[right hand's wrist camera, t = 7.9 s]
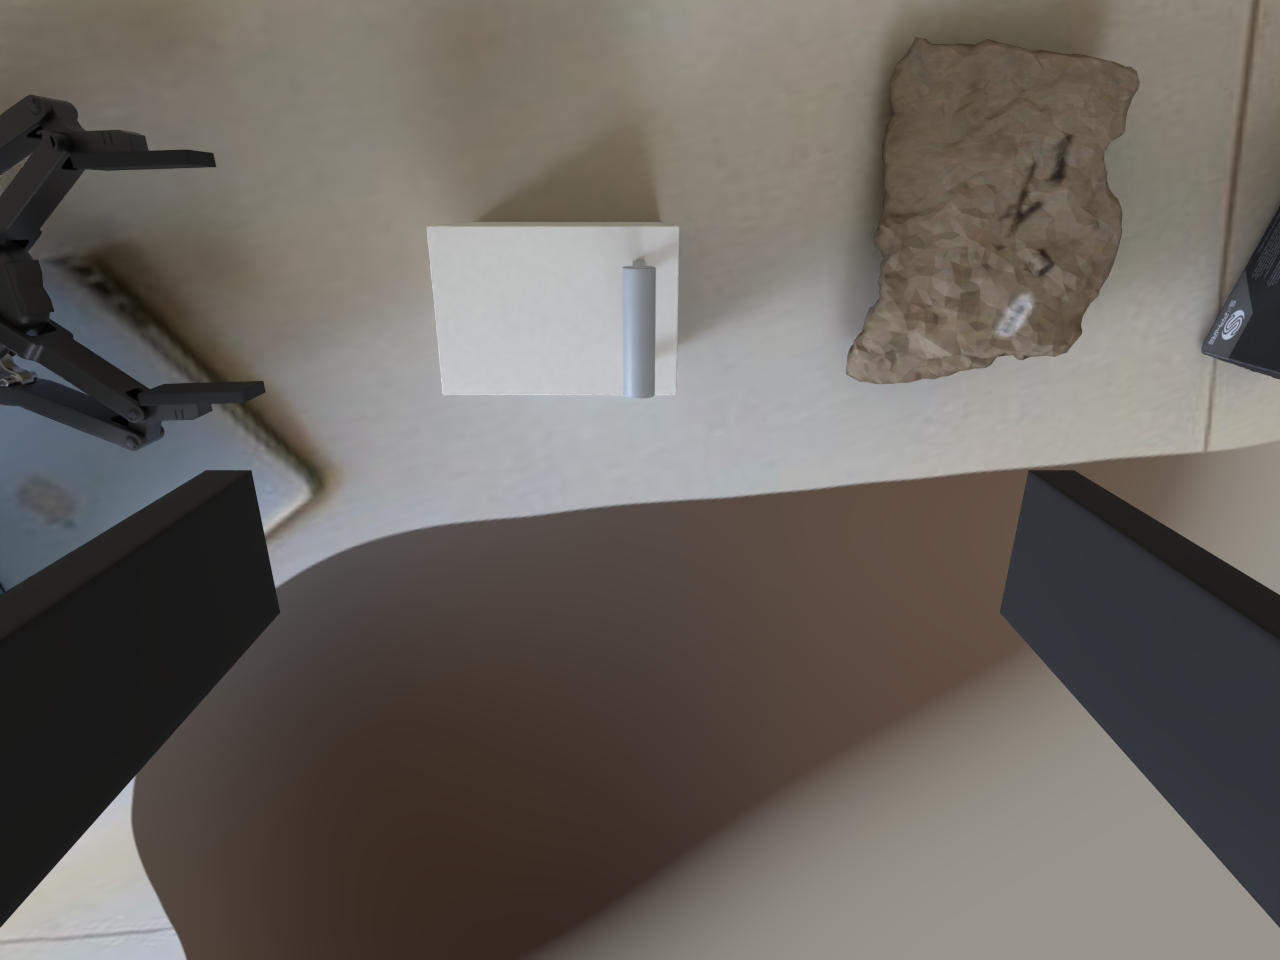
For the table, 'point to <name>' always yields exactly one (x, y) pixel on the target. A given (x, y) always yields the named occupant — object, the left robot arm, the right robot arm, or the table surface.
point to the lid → (556, 309)
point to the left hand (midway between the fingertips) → (230, 281)
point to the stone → (991, 207)
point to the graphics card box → (1252, 312)
